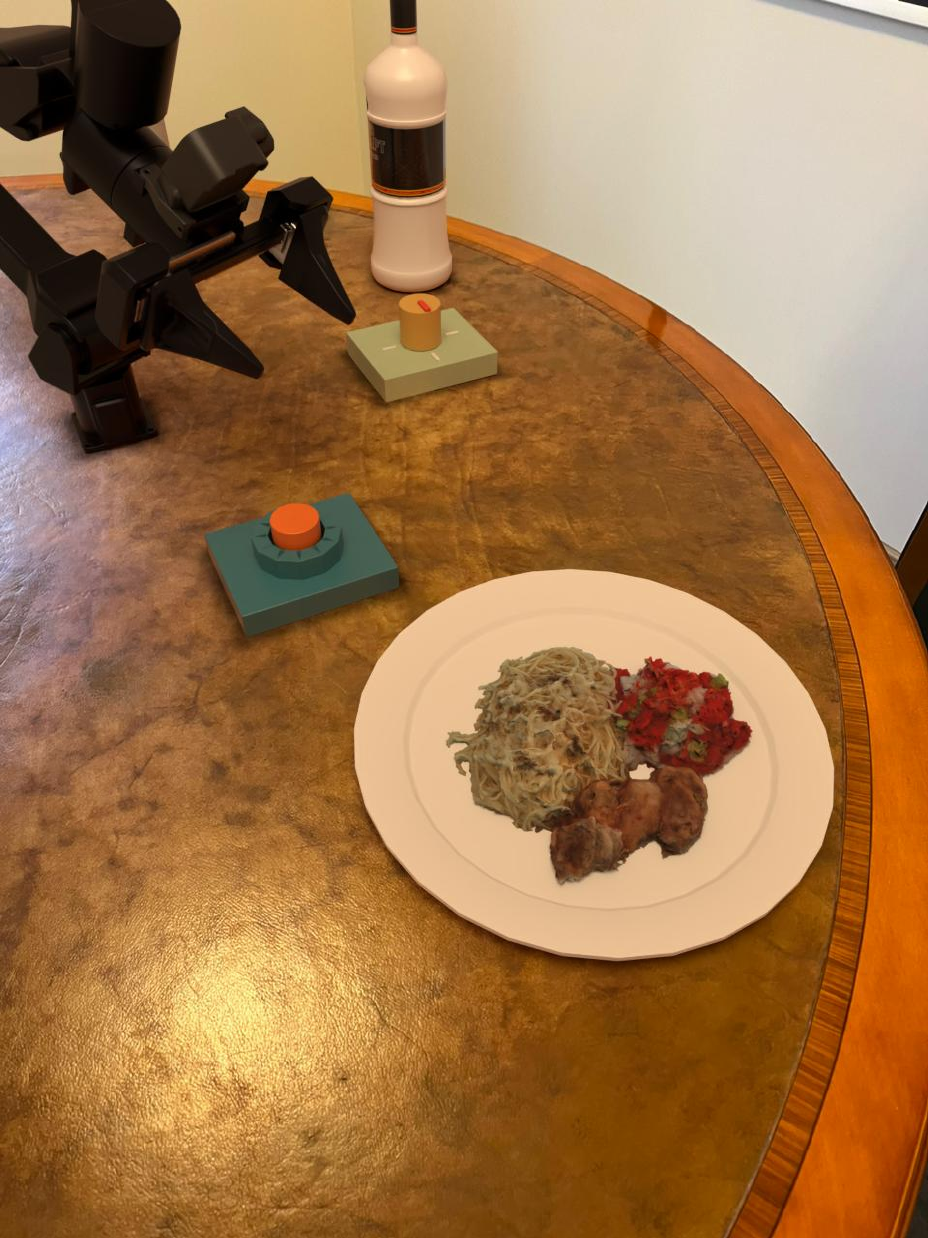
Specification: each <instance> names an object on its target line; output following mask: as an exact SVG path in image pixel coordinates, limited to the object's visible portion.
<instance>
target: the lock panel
mask: <svg viewBox="0 0 928 1238" xmlns="http://www.w3.org/2000/svg"><path fill="white" fill-rule="evenodd" d="M345 337H346V349H347V355H348V357H349V358H350V359H351V361H352V362H353V363H354V364H355V365H356V367H357V368H358V369H359V370H360V372H361V373H362V374H363V376H364V377H365V378H366V379H367V381H368V382H369V383H370V384H371V386H372V387H373V389H375V391H376V392H377V393H378V394H379V396H380V397H381V398H382V400H383V401H384V402H385V403H387V404H388V403H390V402H394V401H398V400H402V399H406V398H410V397H414V396H417V395H421V394H425V393H429V392H433V391H437V390H442V389H445V388H449V387H452V386H456V385H460V384H464V383H468V382H471V381H475V380H480V379H483V378H488V377H492V376H495V375H497V374H498V360H499V359H498V358H499V357H498V355H499V352H498V350H497V349H496V348H495V347H494V346H493V345H491V344H490V342H489V341H488V340H487V339H485V337H484V336H483V335H482V334H481V333H479V331H478V330H477V329H476V328H475V327H474V326H472V324H471V323H469V321H467V320H466V318H465V317H464V316H463V315H461V313H460V312H459V311H458V310H456V308H455V307H450V308H446V309H441V343H440V345H439V346H438V347H436V348H434V349H432V350H428V351H413V350H409V349H407V348H405V347H404V346H403V345H402V344H401V340H400V319H398V320H393V321H389V322H384V323H380V324H376V325H372V326H367V327H363V328H359V329H353V330H350V331H346V332H345Z"/></svg>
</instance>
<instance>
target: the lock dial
mask: <svg viewBox="0 0 928 1238" xmlns="http://www.w3.org/2000/svg"><path fill="white" fill-rule="evenodd" d="M441 308H442V304H441V300H440V299H439V298H438V297H437V296H435V295H432V294H429V293H412V294H409V295H405V296H403V297H402V298H401V299H400V300H399V301H398V316H399V317H398V318H399V320H400V340H401V344H402V345H403V346H404V347H405V348H407V349H409V350H413V351H428V350H432V349H434V348H436V347H438V346H439V345H440V343H441V310H442V309H441Z"/></svg>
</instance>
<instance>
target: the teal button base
mask: <svg viewBox="0 0 928 1238" xmlns="http://www.w3.org/2000/svg"><path fill="white" fill-rule="evenodd" d="M307 505H310V506H312V507H313V508H315V509H316V511H317V512H318V514H319V519H320V527H321V538H320V540H319V541H318V543H317V544H316V545H314V546H313V547H309V548H306V549H303V550H300V551H295V550H283V549H281V548H279V547H278V546H277V545H276V544H275V543H274V541H273V537H272V532H271V526H270V517H271V515H272V513H273V512H274V511H275V510H276V509H277V508H276V509H272V510H270V511H269V512H268V513H267V514H265V515H264V516H263V517H259V518H256V519H252V520H249V521H246V522H241V523H238V524H235V525H231V526H228V527H225V528H221V529H217V530H214V531H211V532H208V533H204V540H205V544H206V547H207V551H208V552H207V553H208V556H209V558H210V560H211V562H212V565H213V566H214V569H215V571H216V573H217V575H218V577H219V580H220V583H221V584H222V586H223V588H224V591H225V593H226V595H227V598H228V600H229V602H230V604H231V606H232V608H233V611H234V614H235V615H236V618H237V620H238V622H239V624H240V627H241V629H242V631H243V633H244V635H245V637H246V638H251V637H254V636H256V635H259V634H263V633H265V632H269V631H272V630H275V629H278V628H281V627H285V626H286V625H287V626H288V625H290V624H293V623H296V622H299V621H303V620H306V619H309V618H311V617H315V616H317V615H320V614H323V613H327V612H330V611H333V610H335V609H339V608H343V607H346V606H348V605H352V604H354V603H357V602H360V601H364V600H366V599H370V598H372V597H375V596H378V595H382V594H384V593H387V592H392V591H394V590H397V589H399V588H400V575H399V566H398V564H397V563H396V562H395V560H394V558H393V557H392V555H391V554H390V552H389V551H388V550H387V548H386V546H385V545H384V543H383V542H382V540H381V539H380V537H379V535H378V534H377V532H376V531H375V530H374V528H373V527H372V525H371V523H370V522H369V520H368V519H367V517H366V516H365V514H364V512H363V511H362V510H361V508H360V507H359V505H358V504H357V502H356V500H355V499H354V498H353V496H352V494H351V493H350V492H347V493H343V494H339V495H336V496H332V497H329V498H325V499H322V500H318V501H315V502H311V503H308V504H307Z"/></svg>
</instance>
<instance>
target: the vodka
mask: <svg viewBox="0 0 928 1238" xmlns="http://www.w3.org/2000/svg"><path fill="white" fill-rule="evenodd" d="M417 5H418V4H417V0H389V19H390V35H389V37H390V43H389V45H388V46H387V47H386V48H384V49H383V50H382V51H381V52H380V53H379V54H378V55H377V56H375V58H373V59H372V60H371V61H370V62H369V63H368V65H367V67H365V68H366V69H365V72H364V76H363V80H362V82H363V85H364V90H365V99H366V100H365V101H366V117H367V133H368V134H367V135H368V149H369V165H370V180H371V184H370V188H369V193H370V195H371V201H372V202H371V203H372V213H373V214H372V215H373V240H372V241H373V242H372V253H371V254H370V267H371V268H370V271H371V274H372V276H373V278H374V279H375V281H376V282H377V283H378V284H380V285H381V286H383V287H385V288H387V289H389V290H392V291H395V292H401V293H420V292H426V291H431V290H434V289H436V288H438V287H440V286H441V285H443V284H444V283H446V282H447V281H448V280H449V278H450V276H451V274H452V272H453V254H452V251H451V249H450V243H449V237H448V217H447V216H448V215H447V204H448V203H447V199H448V193H449V187H448V184H447V152H446V151H447V150H446V149H447V143H446V142H447V140H446V139H447V138H446V136H447V134H446V132H447V131H446V129H447V128H446V123H447V122H446V121H447V120H446V117H447V115H448V106H447V95H448V77H447V74H446V70H445V68H444V67H443V65H442V63H441V62H440V60H438V59H437V58H436V57H435V56H433V55H432V54H431V53H429V52H428V51H427V50H426V49H425V48H423V47H422V46H421V45H420V44H419V42H418V41H419V40H418V39H419V38H418V11H417Z"/></svg>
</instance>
